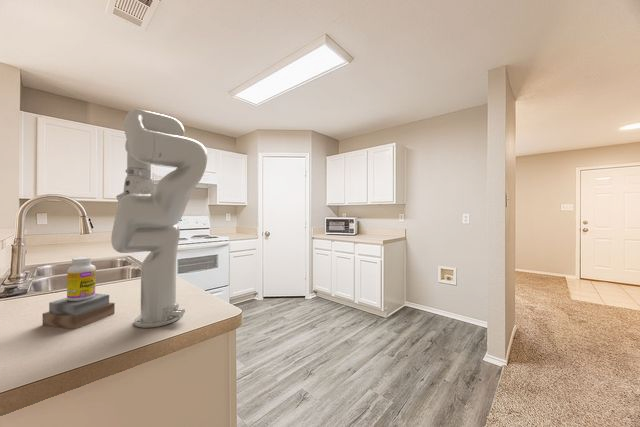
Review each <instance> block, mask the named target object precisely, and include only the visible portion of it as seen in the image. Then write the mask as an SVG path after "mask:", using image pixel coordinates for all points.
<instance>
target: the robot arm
mask: <svg viewBox="0 0 640 427" xmlns="http://www.w3.org/2000/svg"><path fill="white" fill-rule="evenodd" d="M123 130H124V134H125V138H126V140H125V145H124V147H125V148H124V150H125V152H127V153H126V169H125V173H126V176H125V180H124V185H123V192H122V193H120V194H117V195H116V199H117V201H118V204H117V207H116V211H115V216H114V221H113V227H112V232H111V237H110V239H111V246H112V248H113V250H114V251H116V252H117V253H120V254H130V253H132V254H134V253H143V252H147V253H148V252H149V253H148V254H147V256H146V257H145V258H144V260H143V261H142V263H141V266H140V314H139V315H138V316H136V317H135V318H134V320H133V322H134V326H135V327H138V328H145V329H147V328H148V329H150V328H157V327H162V326H166V325H169V324H173V323H175V322H177V321H178V320H179V319H181V318H183V316H184V314H185V313H186V308H180V307H179V306H180V305H179V303H176V302H177V299H176V298H177V297H176V296H177V291H176V290H177V254H178V246H179V242H180V235H181V234H180V233H181V230H180V228H179V227H180V226H179V225H178V224H179V223H180V222H181V219H182V218H183V215H184V213H185V211H186V209H187V208H186V207H187V204H188V202H189V200H190V197H191V195H192V192H193V191H194V189H195V188H196V187H197V185H198V184H199V183H200V181H201V180H202V178H203V176H204V175H205V174H204V173H205V171H206V168H207V163H208V152H207V148H206V147H205V146H204V145H203V144H202V143H201V142H199V141H197V140H195V139H192V138H189V137H185V133H186V130H185V127H184V125H183V124H182V123H181V122H180V121H179V120H178V119H176V118H174V117H171V116H168V115H165V114H160V113H157V112H152V111H149V110H144V109H140V108H135V109H132V110H130V111H129V112H127V114H126V116H125V117H124V123H123ZM152 165H155V166H163V167H172V168H175V169H174V170H171V171H169V172H168V173H166V175H165V176H163V177H162V178H161V179H160V180H159V181H158V183H157V185H156V188H155V185H154V181H153V179H152V177H151V176H152V174H151V173H152Z"/></svg>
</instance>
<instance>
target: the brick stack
mask: <svg viewBox="0 0 640 427" xmlns="http://www.w3.org/2000/svg"><path fill="white" fill-rule="evenodd" d="M115 304H116V303H115V302H110V294H103V293H95V296H94V297H93V298H90V299H87V300H82V301H69V300H67V297H65V298H61V299H57V300H54V301H53V300H52V301H51V302H49V303H48V311H46V312H43V313H42V326H46V327H54V328H60V329H61V328H62V329H63V328H64V329H68V330H69V329H70V330H71V329H72V330H76V329H79V328H82V327H84V326H86V325H89V324H92V323H94V322H96V321H99V320H102V319H104V318H107V317H110V316H112V315H115V312H116V311H115Z"/></svg>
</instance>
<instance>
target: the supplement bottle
mask: <svg viewBox="0 0 640 427" xmlns="http://www.w3.org/2000/svg"><path fill="white" fill-rule="evenodd" d="M92 261H93V258H92V256H79V257H74V258H72V259H71V263H72V266H70V267H68V269H67V279H66V282H67V283H66V298H67V300H69V301H82V300H87V299H90V298H93V297H94V296H95V294H96V277H97V276H96V272H97V271H96V270H97V268H96V266H95V265H94V264H92Z"/></svg>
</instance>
